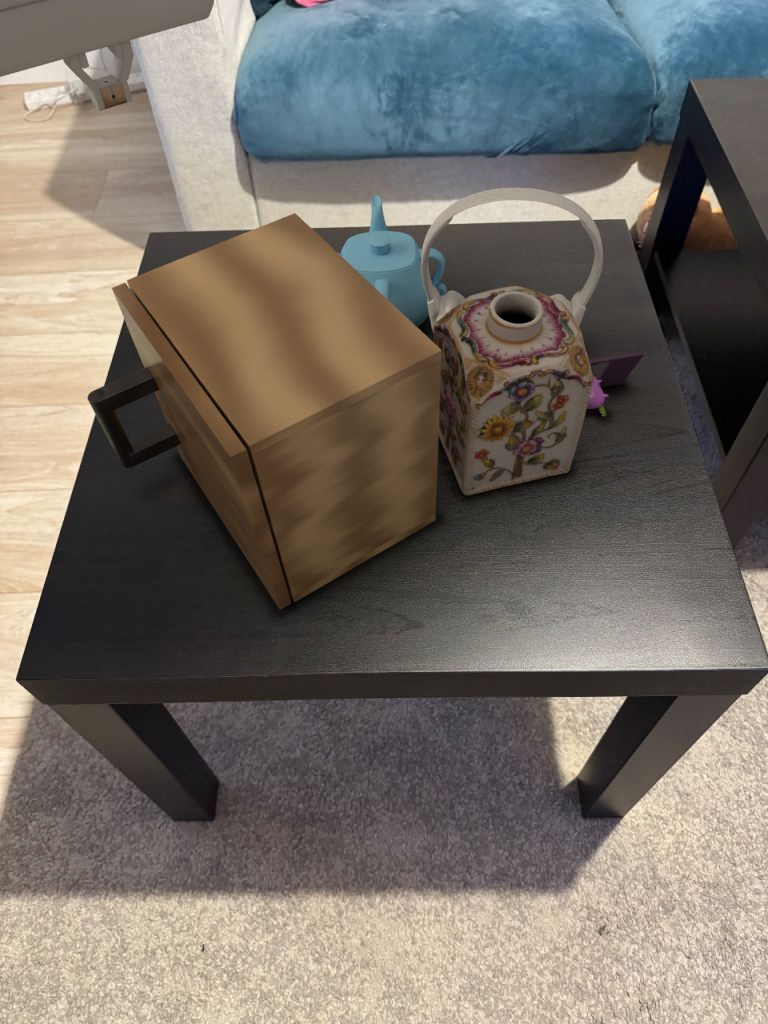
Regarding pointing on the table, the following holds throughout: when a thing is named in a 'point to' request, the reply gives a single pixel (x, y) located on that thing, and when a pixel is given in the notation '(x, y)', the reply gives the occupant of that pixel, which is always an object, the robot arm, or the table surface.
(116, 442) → the door
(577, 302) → the headphones
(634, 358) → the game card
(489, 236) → the table surface
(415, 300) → the teapot
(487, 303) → the decorative jar
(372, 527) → the cupboard
